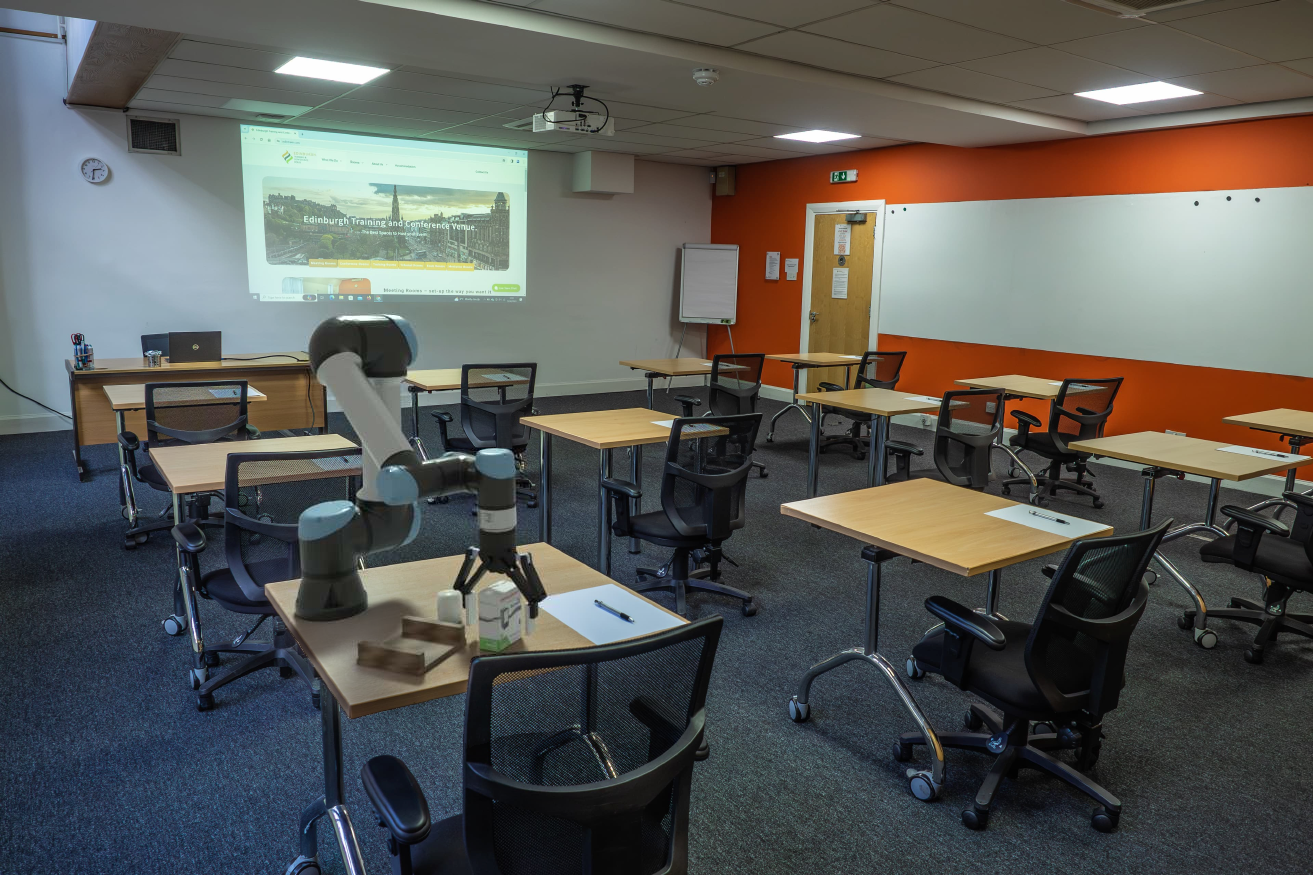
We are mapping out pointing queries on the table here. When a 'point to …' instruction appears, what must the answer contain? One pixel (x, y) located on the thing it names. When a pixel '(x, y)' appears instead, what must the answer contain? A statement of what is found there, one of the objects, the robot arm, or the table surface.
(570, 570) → the table surface
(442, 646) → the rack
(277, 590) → the table surface
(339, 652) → the table surface
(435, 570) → the table surface
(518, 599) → the ink box
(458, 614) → the white cylinder
